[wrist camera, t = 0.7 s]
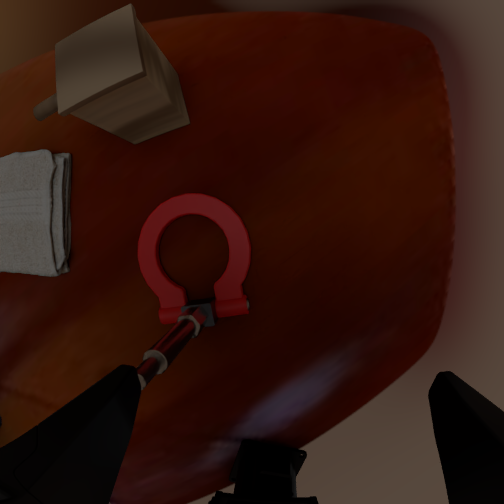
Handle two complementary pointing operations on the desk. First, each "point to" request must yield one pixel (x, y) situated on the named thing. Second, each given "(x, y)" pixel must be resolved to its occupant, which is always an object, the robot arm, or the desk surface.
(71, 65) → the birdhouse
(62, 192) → the washcloth
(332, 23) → the desk surface
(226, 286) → the tow hook
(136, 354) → the desk surface
